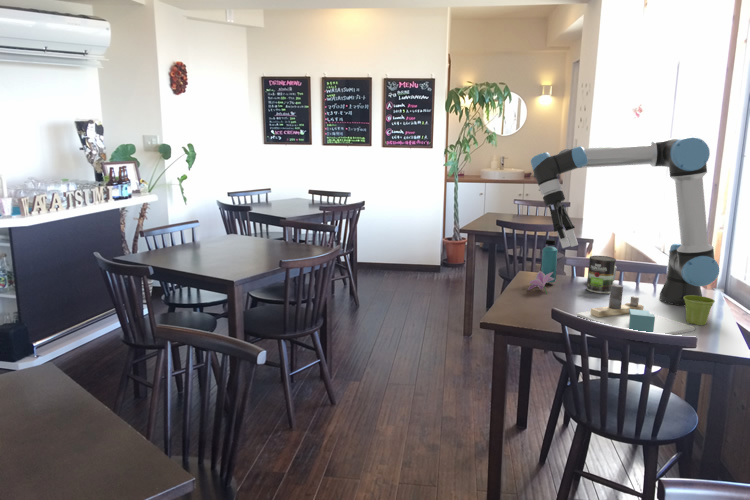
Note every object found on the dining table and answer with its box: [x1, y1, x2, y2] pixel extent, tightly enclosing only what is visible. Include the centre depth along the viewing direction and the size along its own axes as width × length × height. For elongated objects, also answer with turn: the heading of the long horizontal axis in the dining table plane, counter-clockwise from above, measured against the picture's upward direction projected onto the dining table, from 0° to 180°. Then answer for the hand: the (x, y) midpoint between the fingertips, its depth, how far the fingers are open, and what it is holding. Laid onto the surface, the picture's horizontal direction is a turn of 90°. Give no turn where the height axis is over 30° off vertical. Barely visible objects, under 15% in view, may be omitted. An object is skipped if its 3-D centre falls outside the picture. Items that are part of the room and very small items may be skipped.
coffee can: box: [586, 255, 617, 294], centre depth 232 cm, size 10×10×14 cm
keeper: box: [629, 309, 655, 332], centre depth 184 cm, size 10×7×6 cm, turn 161°
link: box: [590, 284, 644, 317], centre depth 197 cm, size 21×6×10 cm, turn 111°
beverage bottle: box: [540, 238, 559, 283], centre depth 241 cm, size 6×7×20 cm
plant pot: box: [683, 295, 716, 326], centre depth 191 cm, size 9×9×9 cm
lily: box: [527, 270, 554, 295], centre depth 228 cm, size 12×12×10 cm
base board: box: [575, 310, 696, 335], centre depth 191 cm, size 25×28×1 cm
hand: (570, 246), depth 205 cm, fingers open, 13 cm apart
